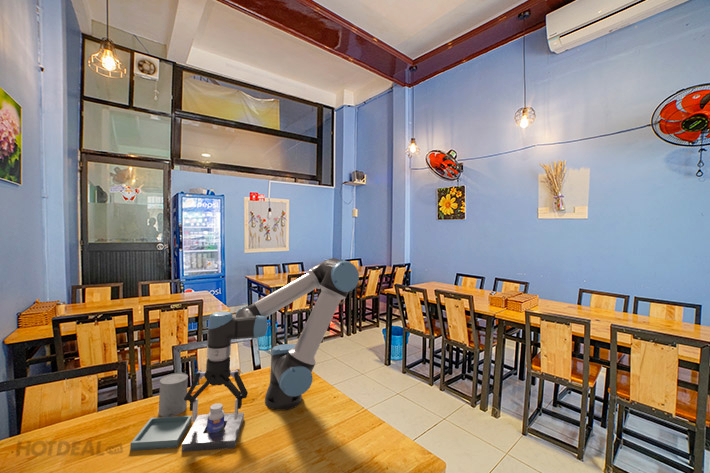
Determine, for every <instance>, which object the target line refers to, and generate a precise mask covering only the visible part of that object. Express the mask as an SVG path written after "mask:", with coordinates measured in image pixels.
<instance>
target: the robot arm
mask: <svg viewBox="0 0 710 473" xmlns="http://www.w3.org/2000/svg"><path fill="white" fill-rule="evenodd" d="M359 279H360V272H359V270H358V268H357V267H356V265H354V264H353V263H352V262H350V261H347V260H344V259H339V258H334V257H333V258H329V259H326V260H323V261H322V262H319V263H318V264H316V265H314V266H313V267H311V268H309V269H308V271H307V273H306V274H305V273H304V274H303V275H302V276H300V277H298V278H296V279H295V280H292V281H291V282H289V283H288V284H285V285H284V286H282V287H281V288H278V289H276V290H275V291H273V292H272V293H271V292H270V294H268V295H266V296H264V297H263V298H260V299H258V300H257V301H255V302H253V303H252V304H249V305H245V306H241V307H239V309H237V311H236V313H235V317H234V316H233V313H232V312H231V311H222V310H221V311H216V312H215V311H214V312H213V313H211V314H210V315H209V318H208V326H207V346H206V347H207V348H206V349H207V350H206V366H205V371H202V370H198V371H197V372H196V374H195V377H194V381H193V382H192V384H191V385H190V387H189V389H188V390H187V394H186V396H185V398H184V400H185V401H187V402H189V411H190V412H192V415H191V416H192V422H191V423H194V422H195V420H196V418H197V417H198V405H199V398H198V397H199V396H200V394H202V392H203V391H205V389H207V388H208V386H209V385H211V386H212V387H213V386H222V385H223V386H224V387H226V389H228V390H229V392H231V394H232V395H233V396H234V397H235V400H234V402H235V403H234V413H235V416H234V420H237V417H238V413H239V410H241V408H242V405H243V399H247V397H248V394H249V393H248V390H247V387H246V386H245V384H244V382H243V379H242V378H241V376H240V369H236V370H232V371H231V357H230V356H231V354H232V353H231V350H232V340H243V339H244V340H245V339H258V338H263V337H265V336H266V335H267V333H268V320H267V318H268V317H270V315H273V314H274V313H276V312H277V311H279V310H281V309H283V308H284V307H287V306H288V305H290V304H291V303H293V302H295V301H296V300H298V299H300V298H302V297H303V296H305V295H308V294H309V293H310V292H313V291H314V290H315V289H317V290H320V293H319V295H318V298H316V301H315V303H314V306H313V308H312V310H311V312H310V315H309V316H308V319H307V320H306V322H305V325H304V327H303V329H302V331H301V333H300V335H299V337H298V339H297V341H296V343H295V344H291V343H286V344H285V343H284V344H279V345H275V346H273V347H272V349H271V354H270V356H271V357H270V375H269V376H270V378H269V381H270V382H269V384H268V388H267V389H266V393H265V396H264V404H265V406H266V407H267V408H269V409H271V410H274V411H275V410H276V411H287V410H290V409H293V408H295V406H296V407H298V406H299V405H300V404H301V403H302V398H303V394H305V393H306V392H308V390H309V389H310V388H311V386H312V384H313V374H312V372H313V370H314V367H315V365H316V359H315V356H316V354H317V352H318V350H319V347H320V345H321V343H322V340H323V339H324V337H325V334H326V333H327V330H328V328H329V327H330V324H331V322H332V320H333V318H334V315H335V313H336V312H337V309H338V307H339V304H340V302H341V301H342V300H344V299H346V298H347V296H348V294H349V293H350V292H351V291H352V290H354V289H355V288H356V287H357V285H358V284H359ZM230 376H231V377H232V378H233V379H234V382H235V384H236V385H237V386H236V385H235V384H234V383H233V382H232V380H231V378H230ZM203 377H204V378H205V379H206V381H204V383H203V384H202V385H201V386H200V387H199V389H197V391H196V392H194V390H195V389H196V386H197V385H198V383H199V382H200V380H202V379H203ZM193 392H194V393H193ZM192 394H193V395H192ZM299 403H300V404H299ZM298 404H299V405H298Z"/></svg>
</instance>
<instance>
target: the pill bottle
mask: <svg viewBox="0 0 710 473" xmlns="http://www.w3.org/2000/svg"><path fill="white" fill-rule="evenodd" d="M223 407H224V405H223V403H220V402H219V403H213V404H211V405H210V408H209V412H208V413H207V414H208V418H207V433H217V432H223V431H224V414H225V411H224V410H223V409H224V408H223Z"/></svg>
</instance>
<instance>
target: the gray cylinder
mask: <svg viewBox="0 0 710 473" xmlns="http://www.w3.org/2000/svg"><path fill="white" fill-rule="evenodd" d="M188 378H189V376H188V374H187V373H185V372H174V373H170V374H167V375H164V376H163V377H161V378H160V379H159V396H158V397H159V398H158V399H159V400H158V415H159V417H173V416H179V415H180V414H182V413H184V412H185V411H186V410H187V407H188V404H187V402H188V400H187V401H185V400H184V398H185V396H186V394H187V393H188V383H189V381H188V380H189V379H188Z"/></svg>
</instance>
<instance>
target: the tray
mask: <svg viewBox="0 0 710 473" xmlns="http://www.w3.org/2000/svg"><path fill="white" fill-rule="evenodd" d="M192 423H193V422H192V415H175V416H171V417H163V416H157V417H156V416H155V417H153V416H152V417H150V418H149V419H148V421H147V422H146V423H145V425H144V426H143V427H142V428H141V429H140V431H139V432H138V433H137V434H136V436H135V437H134V438H133V439H132V440H131V442H130V443H129V444H130V446H129V447H130V452H131V451H147V450H161V449H162V450H163V449H177V448H178V446H179V444H180V443H181V442H182V439H183V438H184V436H185V434H186V433H187V431H188V430H189V427H190V426H191V424H192Z"/></svg>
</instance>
